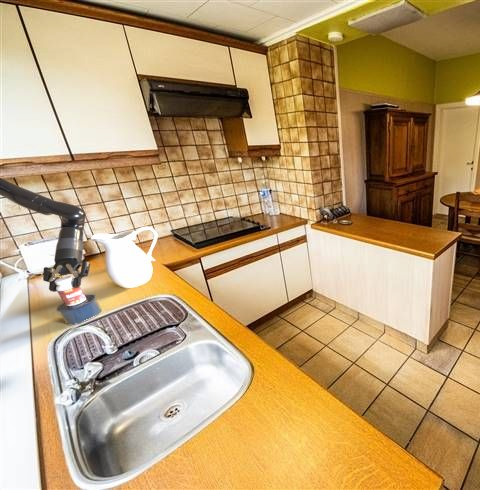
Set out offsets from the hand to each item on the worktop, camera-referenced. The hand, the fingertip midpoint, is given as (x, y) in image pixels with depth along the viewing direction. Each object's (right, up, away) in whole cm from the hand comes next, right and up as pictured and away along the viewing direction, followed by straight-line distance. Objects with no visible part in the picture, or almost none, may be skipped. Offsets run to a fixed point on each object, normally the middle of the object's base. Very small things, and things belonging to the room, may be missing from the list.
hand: (64, 289), depth 105 cm
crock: (0, -13, +7) cm, 15 cm away
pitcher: (+4, -1, +33) cm, 34 cm away
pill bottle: (0, -6, +5) cm, 8 cm away
